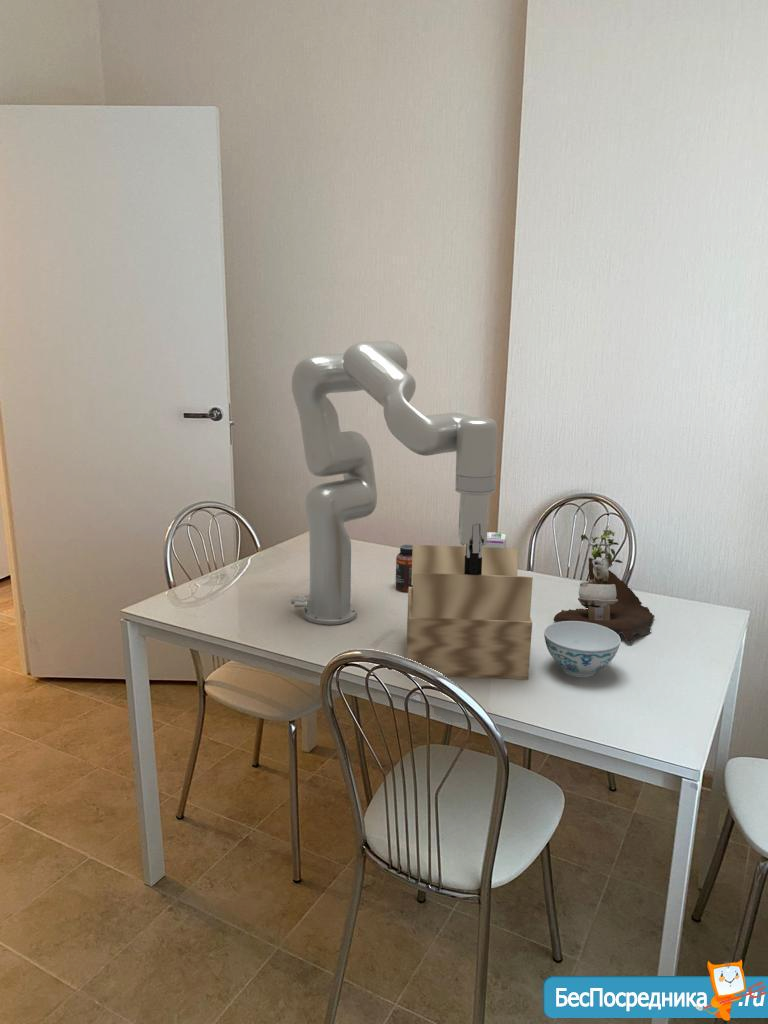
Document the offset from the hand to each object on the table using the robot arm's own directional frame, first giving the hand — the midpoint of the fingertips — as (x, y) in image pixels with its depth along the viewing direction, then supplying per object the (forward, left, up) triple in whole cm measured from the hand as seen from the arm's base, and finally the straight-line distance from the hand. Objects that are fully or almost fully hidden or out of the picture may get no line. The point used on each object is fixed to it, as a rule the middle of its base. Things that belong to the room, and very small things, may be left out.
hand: (472, 576), depth 160 cm
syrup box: (+10, +50, -21) cm, 55 cm away
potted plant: (+35, +31, -21) cm, 51 cm away
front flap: (0, -1, -4) cm, 4 cm away
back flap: (0, +18, -4) cm, 19 cm away
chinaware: (+23, +3, -21) cm, 31 cm away
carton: (0, +7, -21) cm, 22 cm away
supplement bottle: (-12, +48, -21) cm, 54 cm away
